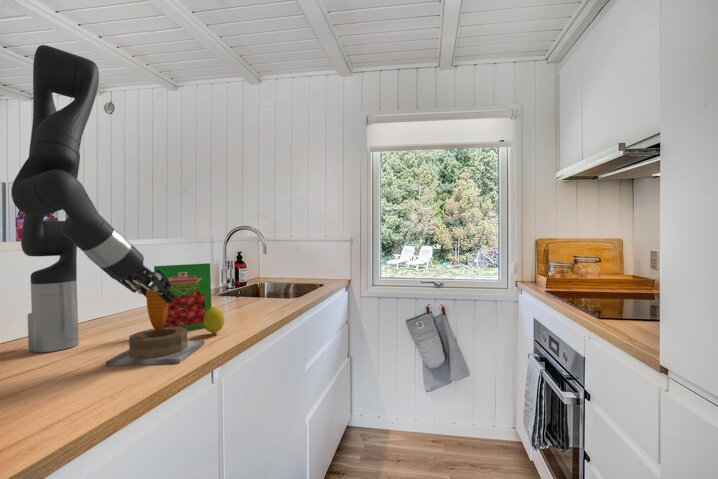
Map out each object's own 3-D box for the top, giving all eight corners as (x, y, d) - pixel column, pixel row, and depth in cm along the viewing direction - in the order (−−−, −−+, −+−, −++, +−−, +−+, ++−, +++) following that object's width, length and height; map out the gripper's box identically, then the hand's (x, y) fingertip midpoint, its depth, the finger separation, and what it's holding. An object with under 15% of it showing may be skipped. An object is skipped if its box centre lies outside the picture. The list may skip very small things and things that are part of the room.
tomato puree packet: (155, 334, 105) (153, 266, 105) (156, 333, 106) (154, 266, 106) (212, 327, 113) (210, 263, 112) (211, 326, 114) (210, 263, 113)
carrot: (153, 336, 83) (152, 271, 83) (142, 334, 86) (140, 271, 86) (174, 331, 87) (173, 270, 87) (163, 329, 90) (161, 269, 90)
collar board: (106, 365, 79) (105, 343, 79) (141, 346, 93) (141, 327, 93) (179, 363, 80) (179, 340, 80) (204, 344, 94) (203, 325, 94)
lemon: (217, 337, 101) (216, 308, 101) (199, 336, 102) (199, 308, 102) (228, 331, 106) (227, 304, 106) (211, 331, 107) (210, 304, 107)
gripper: (148, 239, 77) (195, 288, 88) (104, 241, 82) (153, 287, 93) (124, 266, 72) (177, 314, 83) (79, 266, 77) (134, 311, 89)
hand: (164, 300), depth 88 cm, fingers closed on carrot, 5 cm apart
